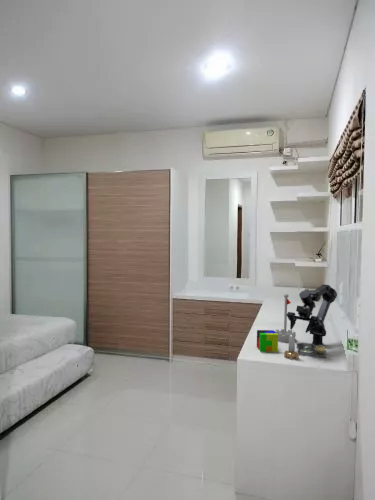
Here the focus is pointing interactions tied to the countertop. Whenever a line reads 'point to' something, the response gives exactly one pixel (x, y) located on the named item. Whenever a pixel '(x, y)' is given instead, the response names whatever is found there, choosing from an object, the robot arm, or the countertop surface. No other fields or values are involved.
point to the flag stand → (284, 334)
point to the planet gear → (291, 349)
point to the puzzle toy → (267, 341)
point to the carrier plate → (311, 350)
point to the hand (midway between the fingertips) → (298, 330)
